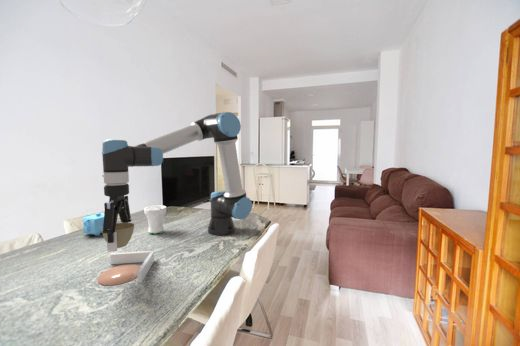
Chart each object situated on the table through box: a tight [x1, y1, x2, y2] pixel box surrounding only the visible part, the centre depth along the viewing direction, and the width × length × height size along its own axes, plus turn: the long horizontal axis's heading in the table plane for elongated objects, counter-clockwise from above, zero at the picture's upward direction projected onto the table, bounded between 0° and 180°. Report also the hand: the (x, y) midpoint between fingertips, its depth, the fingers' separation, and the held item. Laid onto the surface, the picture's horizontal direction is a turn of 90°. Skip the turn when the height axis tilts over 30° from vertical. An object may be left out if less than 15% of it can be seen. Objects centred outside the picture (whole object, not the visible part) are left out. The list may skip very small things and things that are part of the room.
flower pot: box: [101, 222, 135, 249], centre depth 83 cm, size 10×10×7 cm
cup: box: [143, 204, 167, 236], centre depth 128 cm, size 11×11×14 cm
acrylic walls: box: [109, 250, 155, 284], centre depth 86 cm, size 16×17×4 cm
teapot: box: [82, 212, 104, 237], centre depth 127 cm, size 16×18×11 cm
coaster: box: [97, 263, 142, 286], centre depth 84 cm, size 14×14×1 cm
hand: (119, 245), depth 83 cm, fingers closed on flower pot, 10 cm apart
